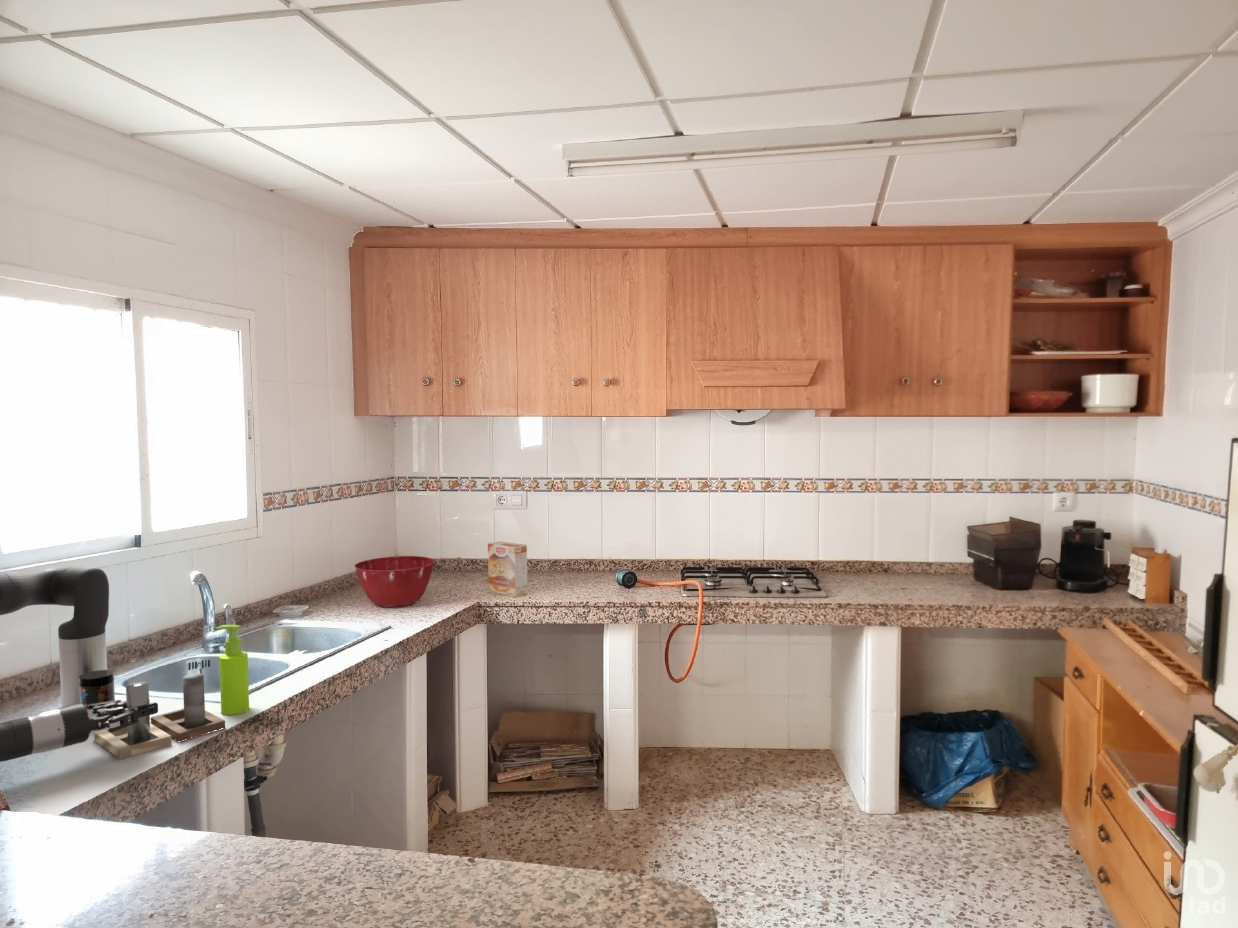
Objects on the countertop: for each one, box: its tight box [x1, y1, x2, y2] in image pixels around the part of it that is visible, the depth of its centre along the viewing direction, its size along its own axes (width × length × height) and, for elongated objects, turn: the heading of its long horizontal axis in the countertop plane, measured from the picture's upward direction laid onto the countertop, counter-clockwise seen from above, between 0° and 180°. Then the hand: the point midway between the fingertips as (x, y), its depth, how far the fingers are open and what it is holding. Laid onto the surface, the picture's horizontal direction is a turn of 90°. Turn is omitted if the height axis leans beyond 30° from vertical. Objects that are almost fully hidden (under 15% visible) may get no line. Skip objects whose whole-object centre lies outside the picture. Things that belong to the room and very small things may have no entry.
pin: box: [125, 681, 151, 746], centre depth 166 cm, size 4×4×12 cm
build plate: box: [93, 722, 172, 760], centre depth 169 cm, size 15×10×2 cm, turn 50°
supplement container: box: [79, 669, 116, 709], centre depth 182 cm, size 7×7×10 cm
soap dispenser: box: [213, 624, 250, 716], centre depth 187 cm, size 6×7×20 cm
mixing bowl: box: [353, 555, 436, 609], centre depth 297 cm, size 28×28×16 cm
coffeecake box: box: [487, 541, 528, 598], centre depth 314 cm, size 15×7×20 cm, turn 53°
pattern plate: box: [150, 673, 226, 742], centre depth 177 cm, size 15×10×12 cm, turn 50°
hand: (152, 704), depth 168 cm, fingers closed on pin, 4 cm apart
